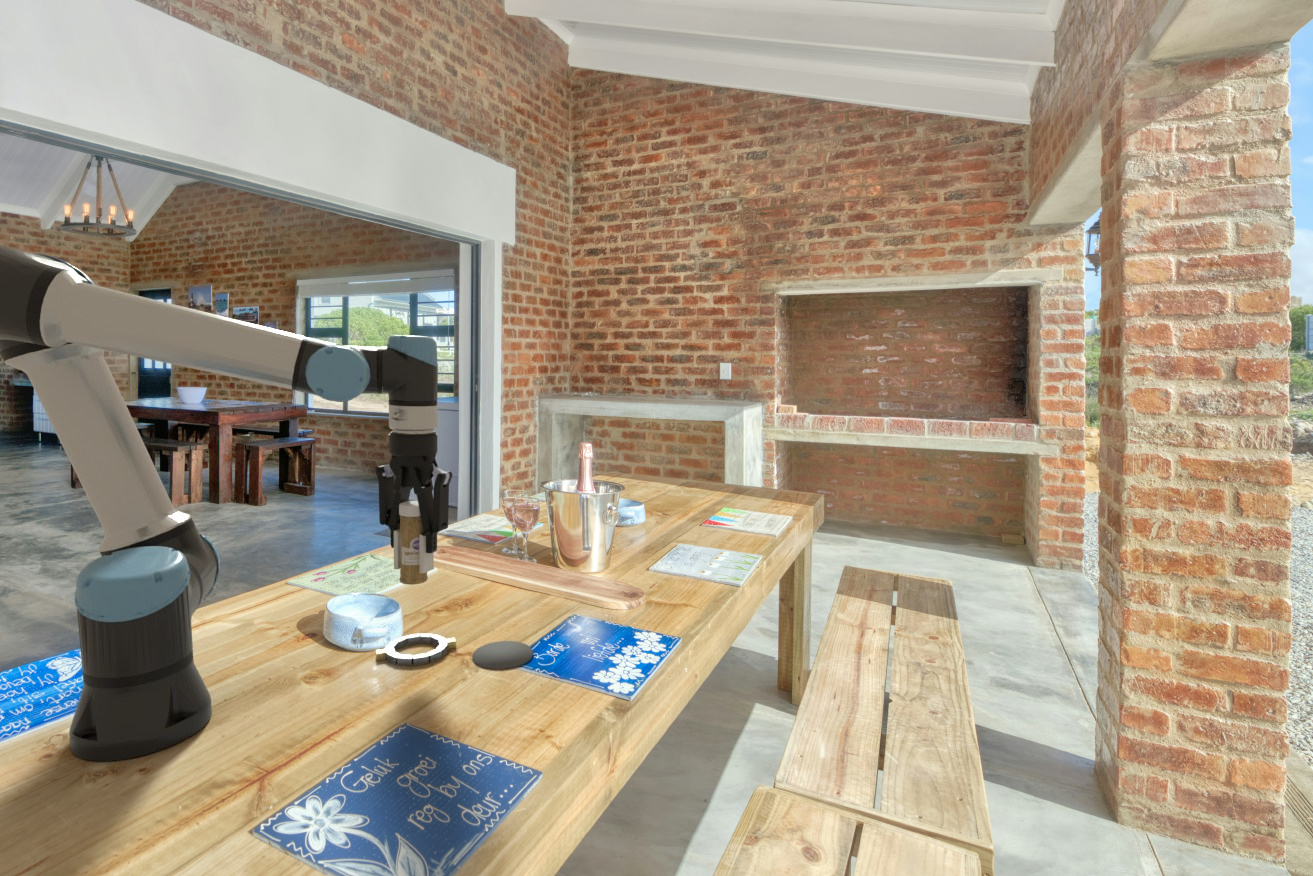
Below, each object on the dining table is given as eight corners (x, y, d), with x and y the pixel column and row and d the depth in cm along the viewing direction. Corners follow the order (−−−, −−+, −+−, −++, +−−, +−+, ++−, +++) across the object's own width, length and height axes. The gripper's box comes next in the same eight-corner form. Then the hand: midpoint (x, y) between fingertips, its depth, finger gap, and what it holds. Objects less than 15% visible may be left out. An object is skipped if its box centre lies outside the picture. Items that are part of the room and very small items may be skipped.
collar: (379, 671, 109) (379, 664, 109) (374, 646, 118) (373, 640, 118) (460, 657, 115) (460, 650, 115) (450, 634, 124) (450, 628, 123)
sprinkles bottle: (408, 587, 111) (408, 507, 110) (394, 581, 114) (393, 502, 113) (433, 581, 115) (433, 503, 113) (418, 574, 118) (418, 498, 116)
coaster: (479, 673, 109) (479, 671, 109) (467, 648, 118) (467, 646, 118) (540, 662, 114) (540, 660, 114) (523, 639, 123) (523, 637, 122)
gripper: (353, 428, 111) (355, 568, 113) (444, 437, 105) (444, 583, 108) (385, 424, 118) (386, 556, 120) (472, 432, 112) (471, 569, 115)
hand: (413, 568), depth 114 cm, fingers closed on sprinkles bottle, 4 cm apart
